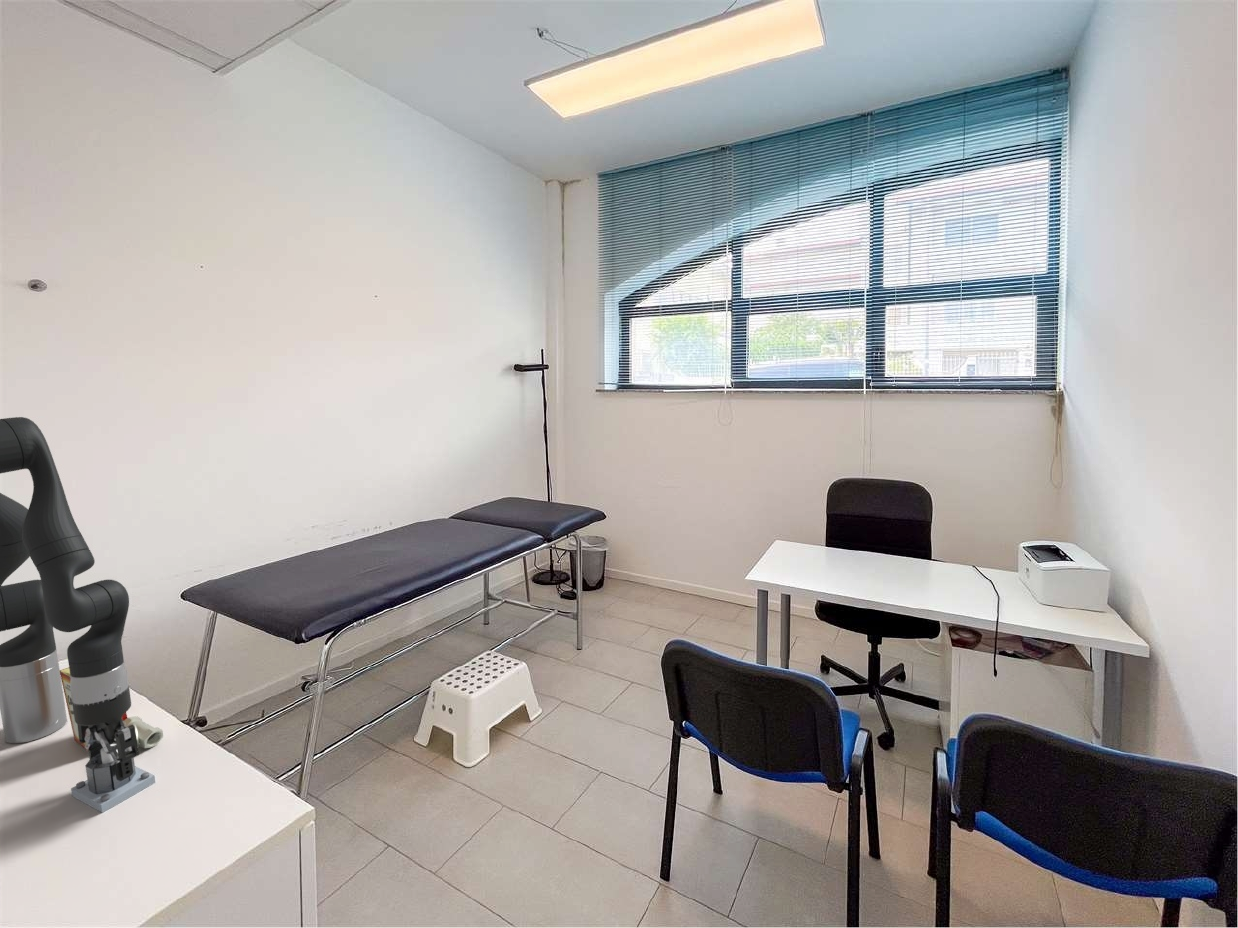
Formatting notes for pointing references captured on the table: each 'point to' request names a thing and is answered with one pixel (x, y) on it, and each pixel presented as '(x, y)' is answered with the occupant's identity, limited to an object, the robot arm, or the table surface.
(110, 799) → the mounting base with peg
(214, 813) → the table surface
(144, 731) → the pipe fitting
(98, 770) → the hub
